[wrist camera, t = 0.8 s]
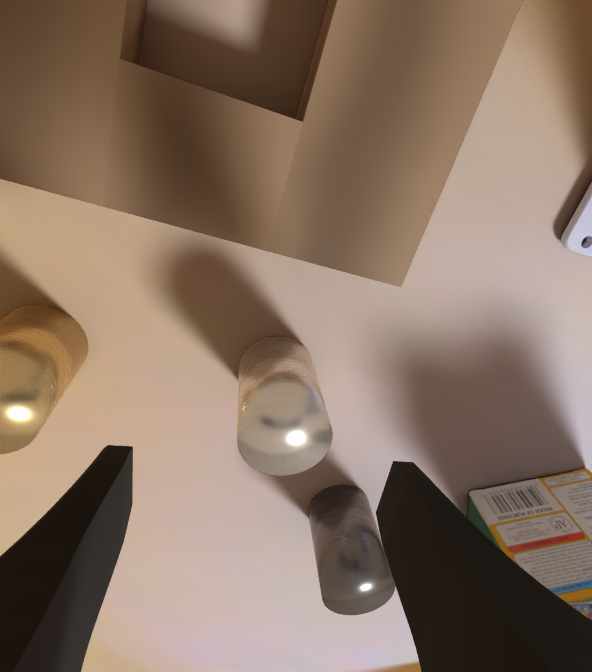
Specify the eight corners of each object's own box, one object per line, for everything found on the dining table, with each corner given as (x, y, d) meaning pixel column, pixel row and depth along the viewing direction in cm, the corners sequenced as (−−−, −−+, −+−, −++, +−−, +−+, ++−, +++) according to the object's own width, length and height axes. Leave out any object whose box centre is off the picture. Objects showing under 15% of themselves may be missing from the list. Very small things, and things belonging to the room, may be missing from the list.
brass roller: (92, 315, 18) (44, 378, 14) (84, 384, 20) (38, 461, 15) (0, 295, 18) (-82, 355, 13) (-2, 368, 19) (-76, 445, 15)
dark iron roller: (377, 489, 25) (406, 571, 20) (355, 532, 26) (378, 617, 22) (319, 481, 24) (336, 563, 20) (300, 525, 25) (312, 611, 21)
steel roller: (323, 345, 20) (345, 409, 16) (300, 406, 22) (315, 481, 17) (249, 328, 19) (251, 391, 15) (230, 393, 21) (227, 468, 16)
